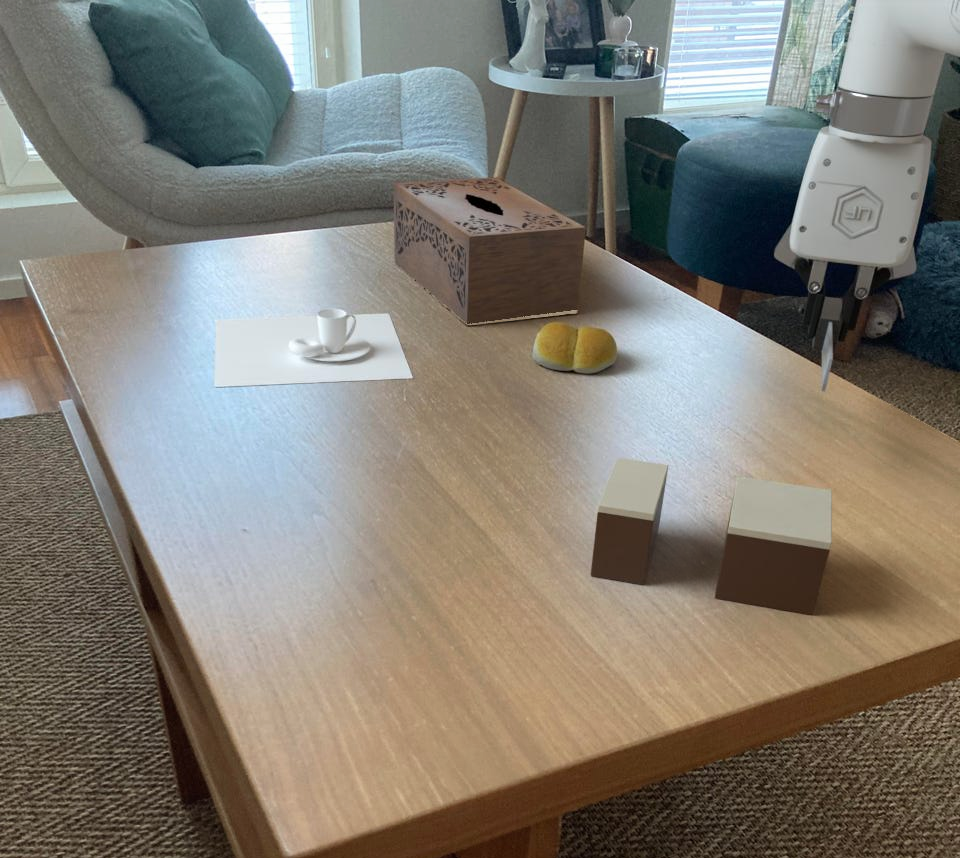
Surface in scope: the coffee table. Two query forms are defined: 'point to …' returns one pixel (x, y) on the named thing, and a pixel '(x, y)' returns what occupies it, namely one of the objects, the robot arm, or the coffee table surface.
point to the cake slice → (628, 520)
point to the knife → (828, 335)
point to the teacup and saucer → (307, 349)
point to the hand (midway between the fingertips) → (826, 333)
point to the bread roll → (574, 348)
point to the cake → (776, 545)
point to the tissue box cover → (487, 248)
